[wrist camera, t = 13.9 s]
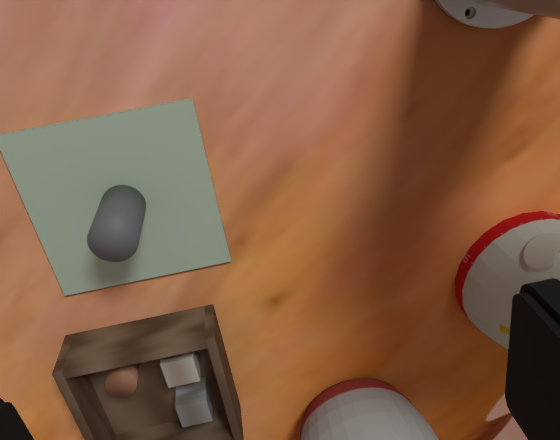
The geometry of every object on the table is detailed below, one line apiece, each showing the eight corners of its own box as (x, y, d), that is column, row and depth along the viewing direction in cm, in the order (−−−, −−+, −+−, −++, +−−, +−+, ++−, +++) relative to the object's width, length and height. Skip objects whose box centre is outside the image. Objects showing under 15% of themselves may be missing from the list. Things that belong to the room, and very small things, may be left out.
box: (213, 304, 48) (214, 339, 44) (240, 406, 55) (244, 445, 51) (65, 335, 47) (52, 374, 43) (111, 435, 54) (103, 477, 50)
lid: (192, 95, 40) (191, 121, 33) (230, 255, 47) (235, 301, 41) (-2, 132, 39) (-39, 165, 33) (67, 289, 46) (47, 341, 40)
